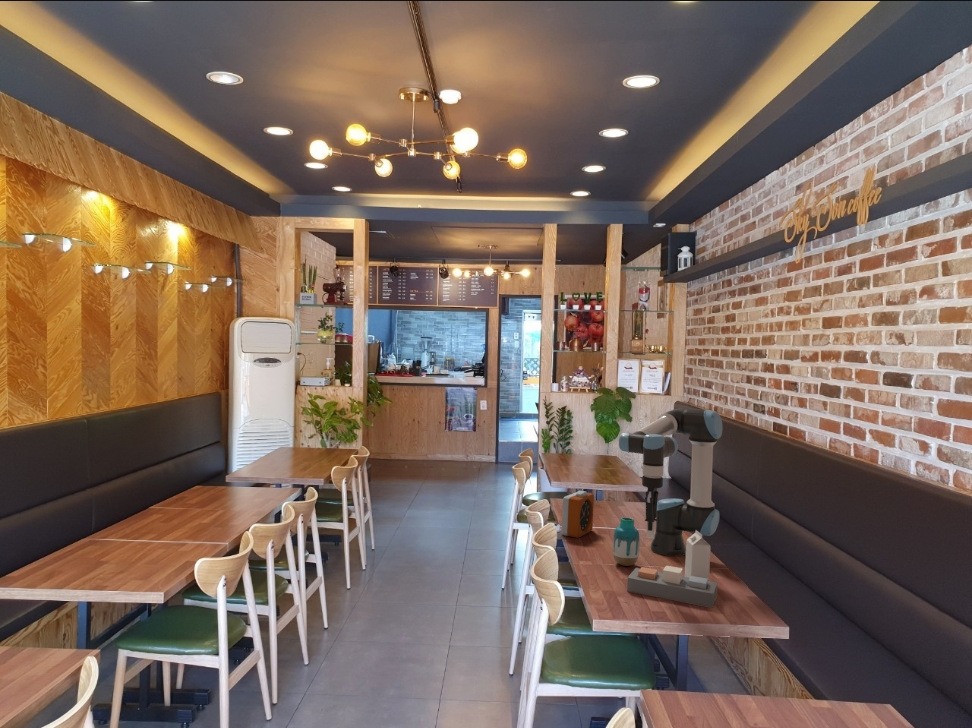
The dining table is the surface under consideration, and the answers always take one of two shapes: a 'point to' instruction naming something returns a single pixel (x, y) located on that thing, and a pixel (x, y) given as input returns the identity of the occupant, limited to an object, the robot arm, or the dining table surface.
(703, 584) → the key slate
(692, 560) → the milk carton
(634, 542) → the vase
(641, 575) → the key rust
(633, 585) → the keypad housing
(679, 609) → the dining table surface
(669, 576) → the key ivory
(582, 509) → the alarm clock
